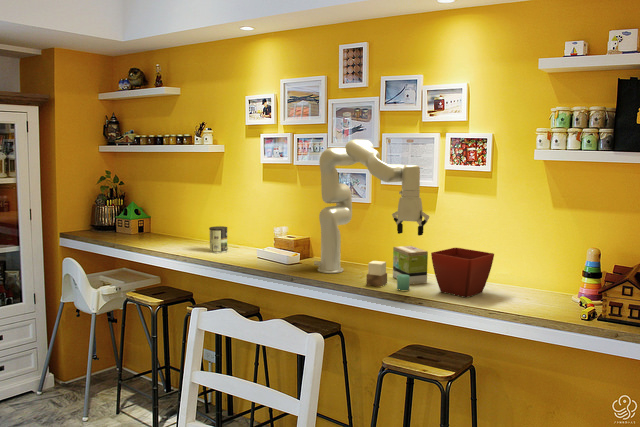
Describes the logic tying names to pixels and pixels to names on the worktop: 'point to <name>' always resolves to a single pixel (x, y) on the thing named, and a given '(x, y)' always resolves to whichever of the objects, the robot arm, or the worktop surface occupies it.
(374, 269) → the cream block
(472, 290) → the plant pot
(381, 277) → the walnut base block
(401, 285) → the teal block
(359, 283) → the worktop surface
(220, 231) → the coffee can
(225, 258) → the worktop surface
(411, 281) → the tea box
